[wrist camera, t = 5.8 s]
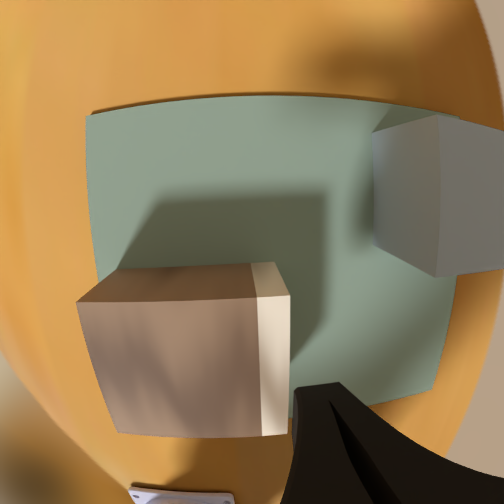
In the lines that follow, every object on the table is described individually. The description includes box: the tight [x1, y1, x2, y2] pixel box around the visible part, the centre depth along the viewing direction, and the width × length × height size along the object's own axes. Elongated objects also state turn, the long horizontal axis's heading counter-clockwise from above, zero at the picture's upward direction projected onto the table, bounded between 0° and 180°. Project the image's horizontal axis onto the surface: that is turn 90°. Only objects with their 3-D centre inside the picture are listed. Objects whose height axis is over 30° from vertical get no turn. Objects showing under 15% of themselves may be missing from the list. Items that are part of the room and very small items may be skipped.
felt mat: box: [86, 96, 460, 418], centre depth 14 cm, size 16×18×1 cm
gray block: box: [372, 115, 504, 278], centre depth 10 cm, size 5×5×5 cm
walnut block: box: [76, 262, 290, 438], centre depth 12 cm, size 6×4×7 cm
